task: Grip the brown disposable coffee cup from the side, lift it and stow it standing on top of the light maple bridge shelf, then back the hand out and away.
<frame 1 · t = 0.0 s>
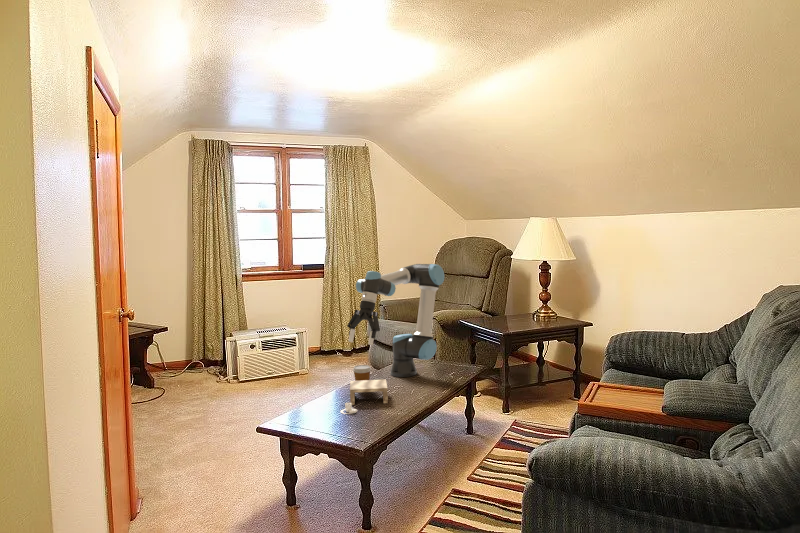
hand: (360, 343, 279), 28 cm above the table, tool tilted 20°, fingers open, 13 cm apart
disposable coffee cup: (362, 389, 297), on the table
maple bridge shelf: (368, 399, 280), on the table
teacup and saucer: (345, 414, 259), on the table
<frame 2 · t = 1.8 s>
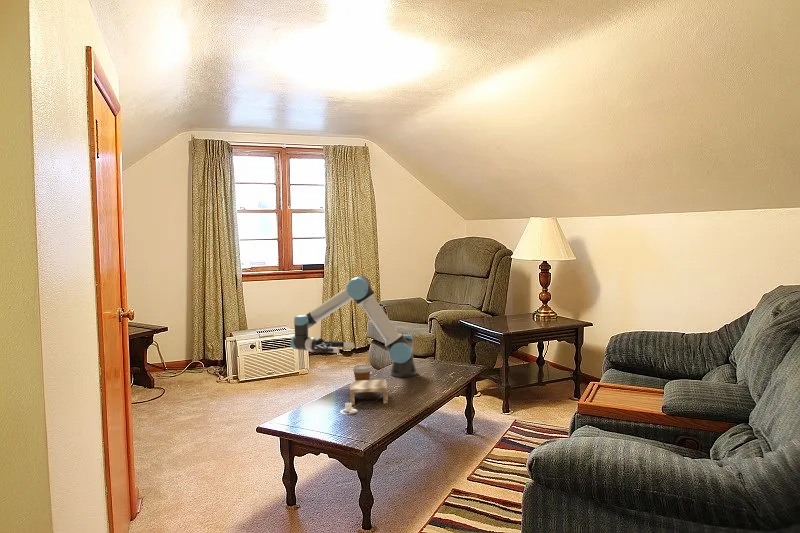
hand: (346, 348, 301), 21 cm above the table, tool horizontal, fingers open, 13 cm apart
nothing on the table moved.
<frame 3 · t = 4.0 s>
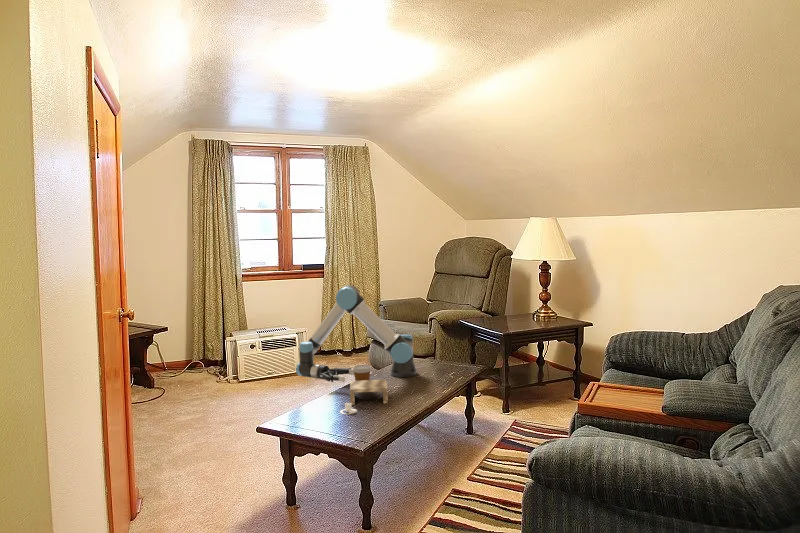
hand: (351, 376, 300), 6 cm above the table, tool horizontal, fingers open, 13 cm apart
nothing on the table moved.
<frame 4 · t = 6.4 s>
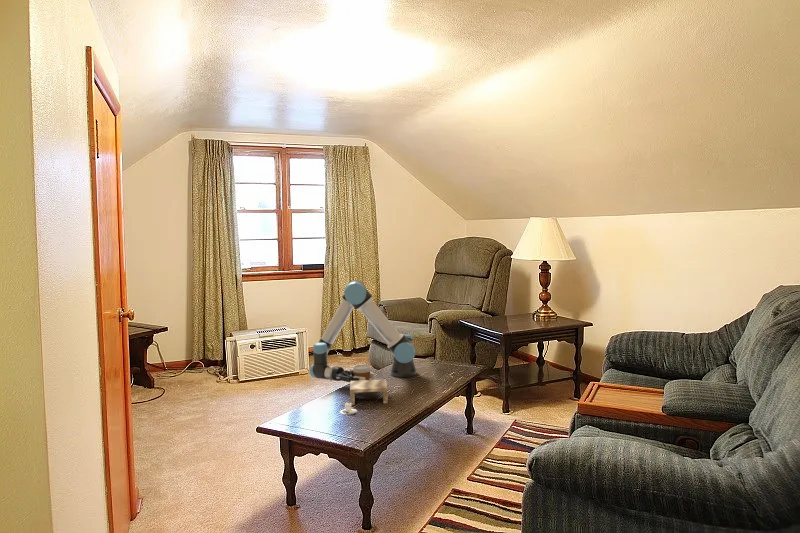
hand: (369, 378, 295), 7 cm above the table, tool horizontal, fingers closed on disposable coffee cup, 8 cm apart
disposable coffee cup: (362, 389, 297), on the table, touching gripper
everything else where it was.
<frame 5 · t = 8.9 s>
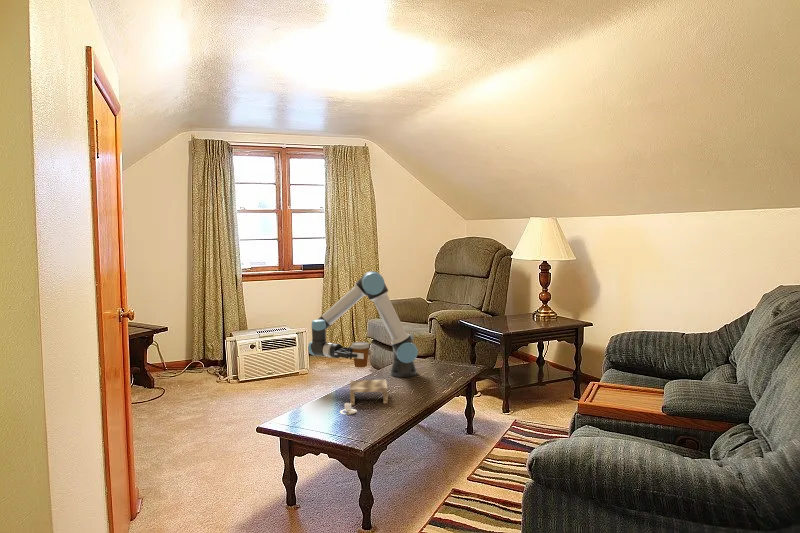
hand: (368, 354, 290), 20 cm above the table, tool horizontal, fingers closed on disposable coffee cup, 8 cm apart
disposable coffee cup: (360, 366, 293), point 13 cm above the table, touching gripper
everything else where it was.
when the fingers open (16 cm above the table, at t = 11.3 s): disposable coffee cup drops 2 cm, resting on maple bridge shelf.
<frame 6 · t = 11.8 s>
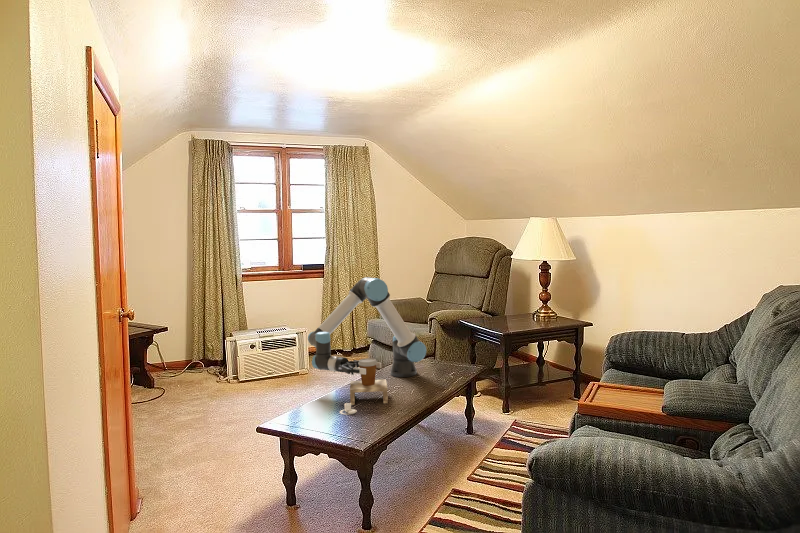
hand: (373, 368, 277), 16 cm above the table, tool horizontal, fingers open, 13 cm apart
disposable coffee cup: (368, 384, 280), point 7 cm above the table, touching maple bridge shelf
everything else where it was.
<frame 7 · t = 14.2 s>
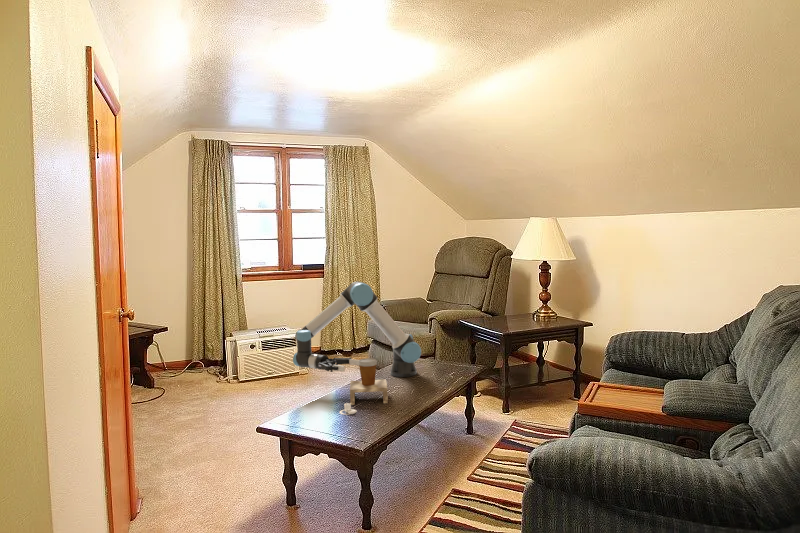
hand: (352, 365, 284), 16 cm above the table, tool horizontal, fingers open, 13 cm apart
nothing on the table moved.
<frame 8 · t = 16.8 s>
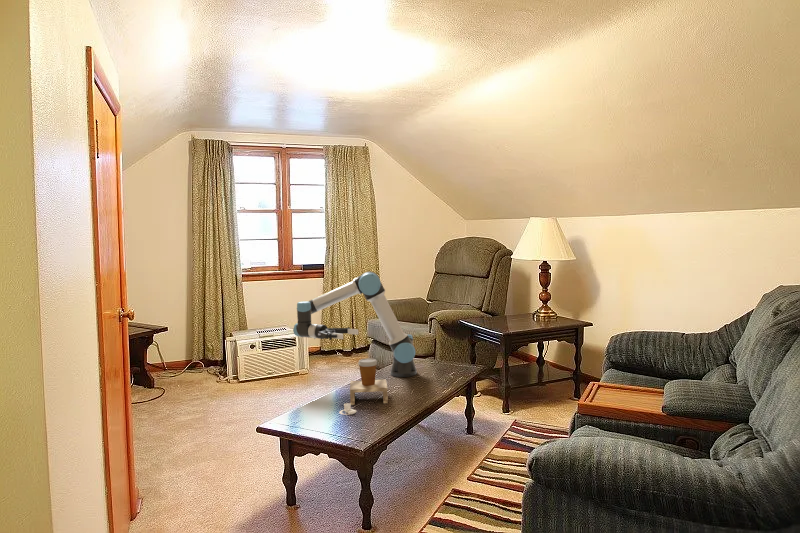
hand: (350, 334, 293), 30 cm above the table, tool horizontal, fingers open, 13 cm apart
at the end: disposable coffee cup inside the target area on the maple bridge shelf (0.4 cm from its centre), point 7.3 cm above the maple bridge shelf's base; disposable coffee cup touching maple bridge shelf; disposable coffee cup tilted 0° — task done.
